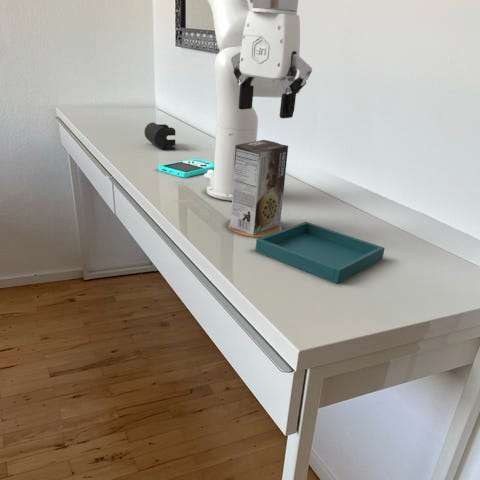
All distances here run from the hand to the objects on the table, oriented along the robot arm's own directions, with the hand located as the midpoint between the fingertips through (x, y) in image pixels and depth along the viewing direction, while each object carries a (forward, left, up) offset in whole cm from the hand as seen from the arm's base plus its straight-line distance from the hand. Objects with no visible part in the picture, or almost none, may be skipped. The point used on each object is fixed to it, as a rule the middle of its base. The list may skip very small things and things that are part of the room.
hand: (265, 113), depth 93 cm
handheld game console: (-42, +22, -22) cm, 52 cm away
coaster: (0, 0, -22) cm, 22 cm away
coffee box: (0, 0, -22) cm, 22 cm away
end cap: (-69, +34, -22) cm, 80 cm away
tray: (+17, -2, -22) cm, 28 cm away
